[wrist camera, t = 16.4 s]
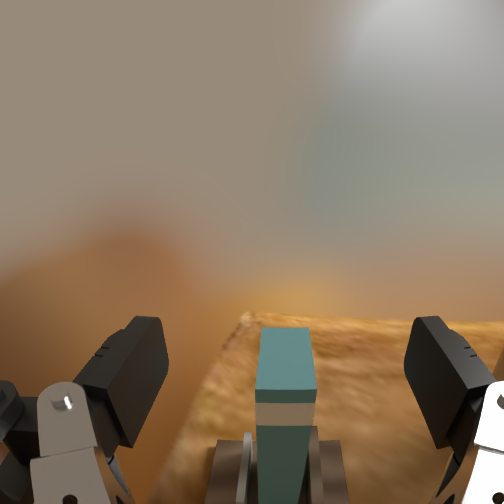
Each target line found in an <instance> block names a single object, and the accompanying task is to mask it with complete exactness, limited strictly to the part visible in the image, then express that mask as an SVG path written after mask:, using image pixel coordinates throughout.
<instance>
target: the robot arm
mask: <svg viewBox="0 0 504 504" xmlns="http://www.w3.org/2000/svg"><path fill="white" fill-rule="evenodd" d="M168 366H169V359H168V353H167V348H166V343H165V339H164V334H163V328H162V323H161V320H160V319H159V318H158V317H147V316H135V317H134V318H133V320H131V322H130V323H129V324H128V325H127V327H126V328H125V329H124V330H123V329H121V330H119V331H117V332H116V333H114V334H113V335H111V336H110V337H108V338H107V340H106V341H105V342H104V343H103V344H102V346H101V348H99V350H98V351H97V352H96V353H95V356H93V357H92V358H91V359H90V360H89V362H88V363H87V364H86V365H85V366H84V368H83V369H82V370H81V372H80V373H79V374H78V375H77V377H76V378H75V379H74V380H73V382H61V383H56V384H53V385H51V386H49V387H48V388H46V389H45V390H44V391H43V392H42V393H41V394H40V396H39V397H21V396H19V394H18V392H17V390H16V388H15V386H14V385H13V384H12V383H11V382H8V381H3V380H2V381H0V443H1V442H2V441H3V442H4V444H5V445H6V446H7V448H8V449H9V450H10V451H9V453H8V454H7V456H6V458H5V459H4V461H3V462H2V464H1V465H0V504H33V503H34V501H35V504H135V501H134V499H133V497H132V495H131V492H130V490H129V488H128V485H127V483H126V480H125V478H124V475H123V473H122V470H121V467H120V465H119V462H118V459H117V457H116V455H115V453H114V452H115V450H116V448H117V446H118V445H120V446H125V447H129V448H133V446H134V443H135V441H136V439H137V437H138V434H139V432H140V430H141V428H142V426H143V424H144V422H145V420H146V418H147V415H148V413H149V411H150V409H151V407H152V405H153V402H154V401H155V398H156V396H157V394H158V392H159V390H160V388H161V386H162V384H163V382H164V380H165V377H166V375H167V372H168ZM404 372H405V375H406V378H407V380H408V382H409V384H410V387H411V389H412V391H413V393H414V396H415V398H416V400H417V402H418V405H419V407H420V409H421V412H422V414H423V416H424V419H425V421H426V423H427V426H428V428H429V431H430V433H431V436H432V438H433V441H434V443H435V446H436V448H437V449H441V448H445V447H448V446H451V447H452V449H453V452H452V453H451V455H450V457H449V459H448V461H447V464H446V466H445V469H444V471H443V474H442V476H441V478H440V481H439V483H438V485H437V487H436V490H435V492H434V494H433V496H432V498H431V500H430V502H429V504H504V346H503V348H502V351H501V354H500V356H499V359H498V361H497V364H496V366H495V369H494V371H493V373H491V372H490V371H489V369H488V368H487V367H486V365H485V364H484V363H483V361H482V360H481V359H480V358H479V356H478V357H477V354H476V352H475V351H474V350H473V349H471V346H470V345H469V344H468V342H467V341H466V340H465V339H464V337H462V336H461V335H459V334H458V333H456V332H455V331H453V330H452V329H451V330H450V329H449V328H448V327H447V326H446V324H445V323H444V322H443V321H442V319H441V318H440V317H439V316H428V317H417V318H416V319H415V320H414V322H413V325H412V330H411V334H410V338H409V342H408V346H407V350H406V354H405V358H404Z"/></svg>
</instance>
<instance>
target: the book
mask: <svg viewBox="0 0 504 504" xmlns="http://www.w3.org/2000/svg"><path fill="white" fill-rule="evenodd" d="M316 393H317V386H316V378H315V370H314V362H313V355H312V347H311V340H310V333H309V328H264V327H262V333H261V342H260V351H259V360H258V369H257V378H256V386H255V412H256V436H257V471H258V504H298V500H299V496H300V491H301V486H302V480H303V475H304V470H305V464H306V459H307V453H308V447H309V441H310V435H311V428H312V424H313V417H314V410H315V400H316Z"/></svg>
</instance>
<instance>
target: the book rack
mask: <svg viewBox="0 0 504 504" xmlns="http://www.w3.org/2000/svg"><path fill="white" fill-rule="evenodd" d="M204 504H258V471H257V442H252V432H245V434H244V441H231V440H217V445H216V450H215V454H214V459H213V464H212V469H211V473H210V478H209V483H208V488H207V492H206V497H205V502H204ZM298 504H349V500H348V493H347V486H346V479H345V472H344V466H343V459H342V453H341V447H340V441H339V440H330V441H319V440H318V430H317V426H312V428H311V435H310V441H309V447H308V453H307V459H306V464H305V470H304V475H303V480H302V486H301V491H300V496H299V500H298Z"/></svg>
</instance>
